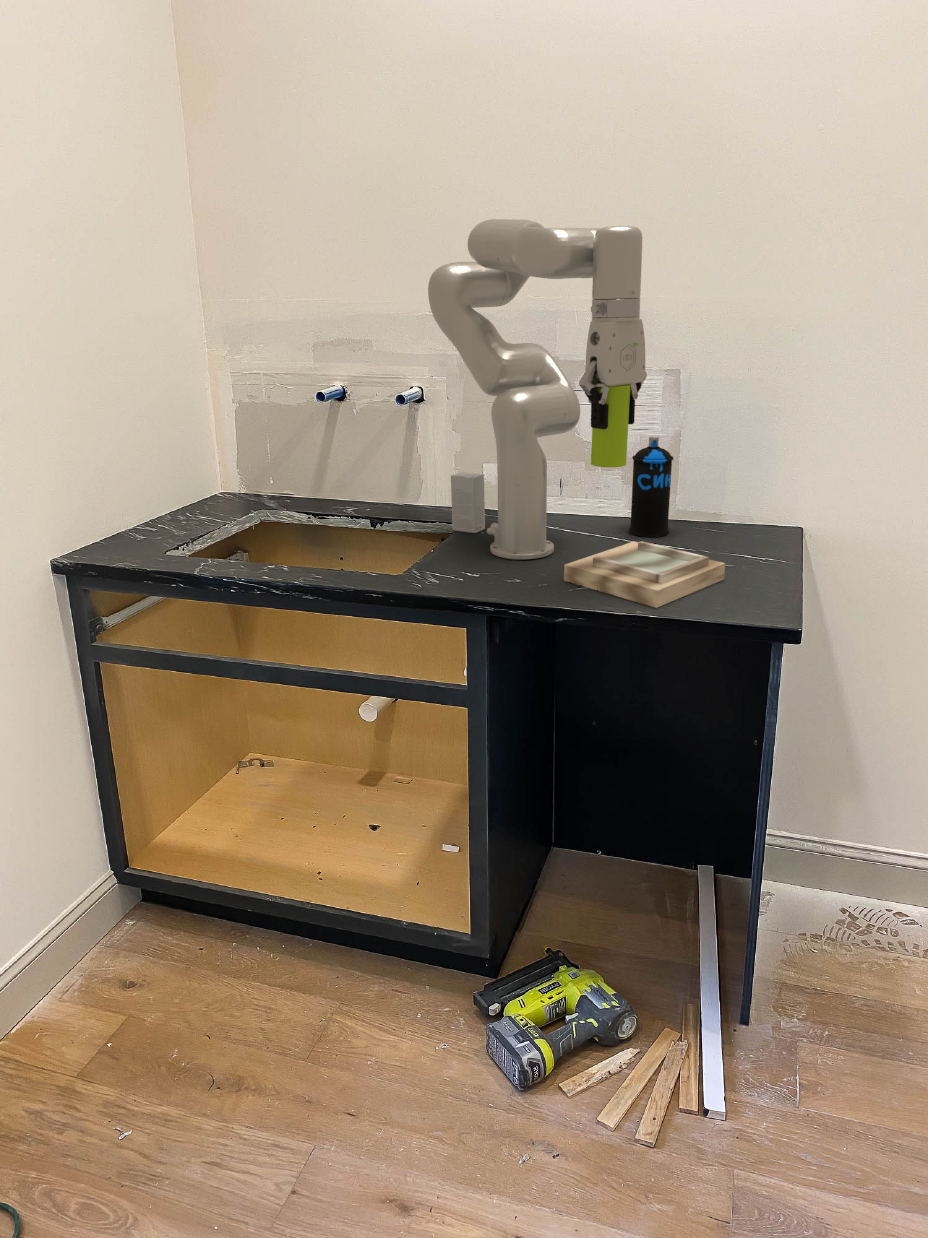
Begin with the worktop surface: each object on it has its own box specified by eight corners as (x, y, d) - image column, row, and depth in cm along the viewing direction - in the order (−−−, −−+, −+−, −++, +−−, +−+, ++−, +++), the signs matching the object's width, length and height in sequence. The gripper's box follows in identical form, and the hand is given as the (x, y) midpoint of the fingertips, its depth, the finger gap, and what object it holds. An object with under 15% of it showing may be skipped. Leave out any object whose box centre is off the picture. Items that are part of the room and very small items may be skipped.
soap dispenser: (631, 468, 148) (638, 341, 141) (588, 466, 150) (593, 340, 143) (633, 461, 153) (640, 339, 147) (592, 460, 155) (597, 339, 148)
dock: (563, 580, 161) (564, 556, 159) (632, 556, 173) (633, 533, 172) (656, 607, 147) (658, 581, 145) (723, 579, 160) (726, 555, 158)
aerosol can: (624, 527, 193) (628, 433, 185) (662, 526, 193) (667, 432, 186) (634, 538, 185) (639, 440, 178) (673, 536, 185) (680, 439, 178)
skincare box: (485, 529, 194) (485, 474, 190) (475, 533, 191) (474, 478, 186) (462, 525, 197) (460, 471, 193) (451, 530, 194) (449, 475, 189)
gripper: (596, 313, 135) (594, 434, 141) (668, 308, 145) (663, 421, 152) (560, 313, 140) (559, 430, 147) (632, 308, 151) (628, 417, 157)
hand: (612, 424), depth 149 cm, fingers closed on soap dispenser, 5 cm apart
